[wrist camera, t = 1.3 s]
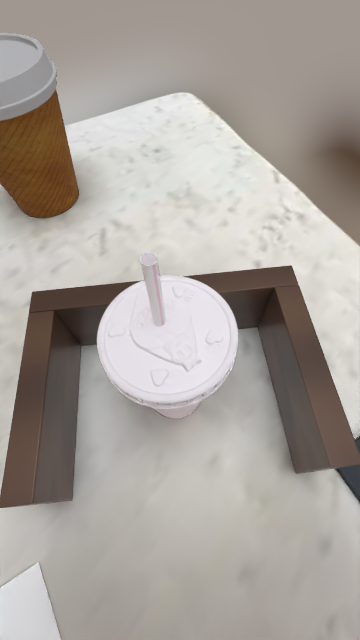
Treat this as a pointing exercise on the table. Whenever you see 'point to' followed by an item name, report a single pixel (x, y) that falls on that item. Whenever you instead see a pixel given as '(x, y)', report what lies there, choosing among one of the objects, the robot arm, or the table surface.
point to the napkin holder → (27, 608)
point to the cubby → (81, 329)
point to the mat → (352, 474)
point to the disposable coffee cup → (33, 131)
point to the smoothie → (167, 341)
